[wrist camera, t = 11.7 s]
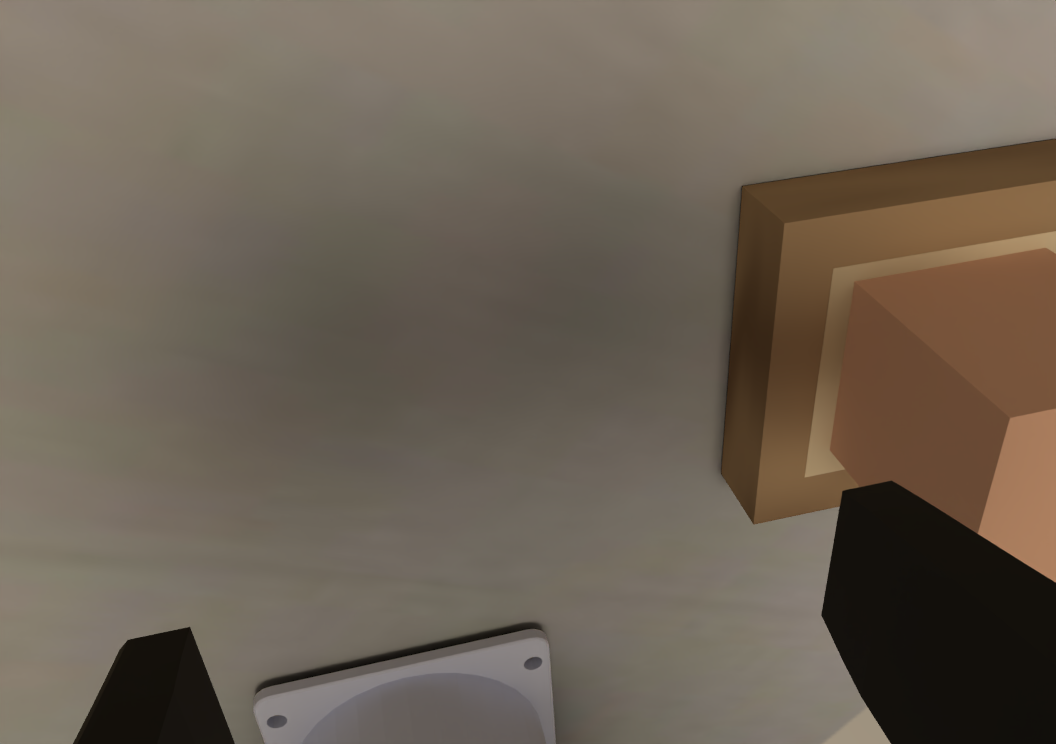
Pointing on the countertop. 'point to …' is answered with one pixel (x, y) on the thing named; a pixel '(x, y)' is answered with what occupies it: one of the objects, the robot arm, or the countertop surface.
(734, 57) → the countertop surface
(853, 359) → the block
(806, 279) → the base slab
